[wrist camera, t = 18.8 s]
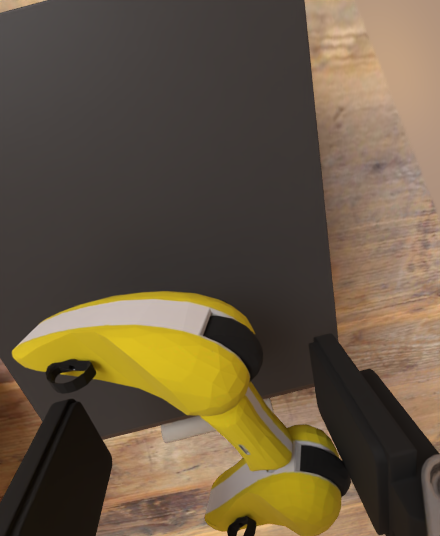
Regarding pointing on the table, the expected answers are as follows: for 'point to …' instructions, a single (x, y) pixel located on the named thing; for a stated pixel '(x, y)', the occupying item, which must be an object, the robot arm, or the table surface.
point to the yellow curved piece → (200, 398)
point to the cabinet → (161, 178)
